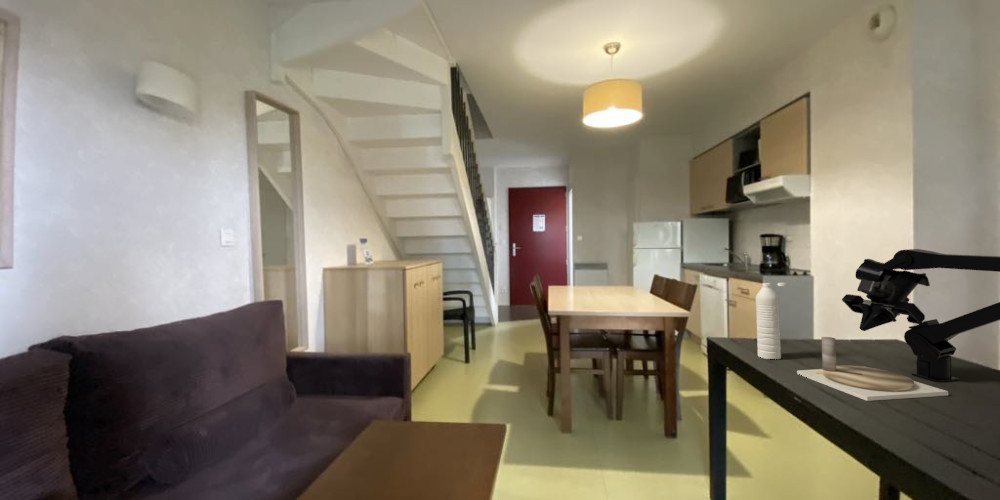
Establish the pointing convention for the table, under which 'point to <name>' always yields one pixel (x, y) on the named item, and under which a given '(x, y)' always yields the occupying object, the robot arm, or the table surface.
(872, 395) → the base
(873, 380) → the dial
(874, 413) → the table surface
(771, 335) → the water bottle
